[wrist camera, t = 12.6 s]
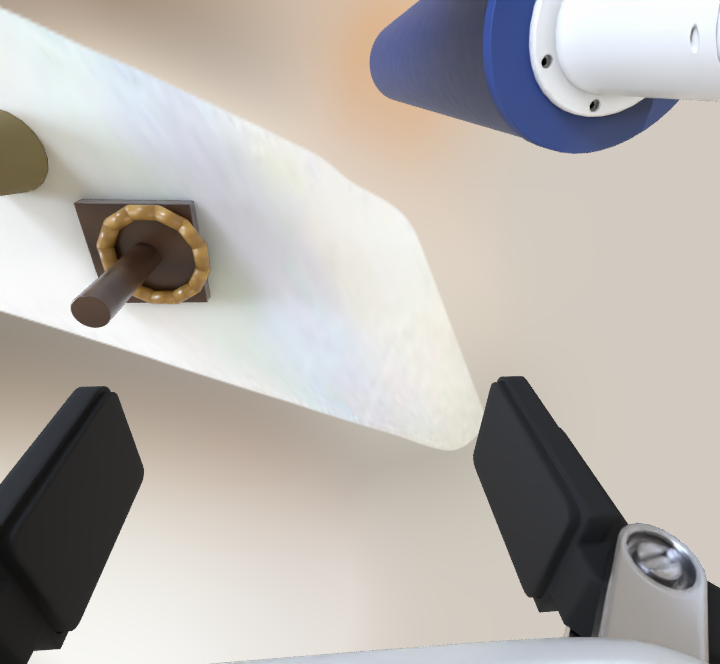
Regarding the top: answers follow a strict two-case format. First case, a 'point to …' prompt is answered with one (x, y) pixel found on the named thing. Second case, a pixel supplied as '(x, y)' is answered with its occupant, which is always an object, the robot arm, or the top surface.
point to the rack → (134, 259)
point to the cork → (20, 157)
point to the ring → (171, 220)
